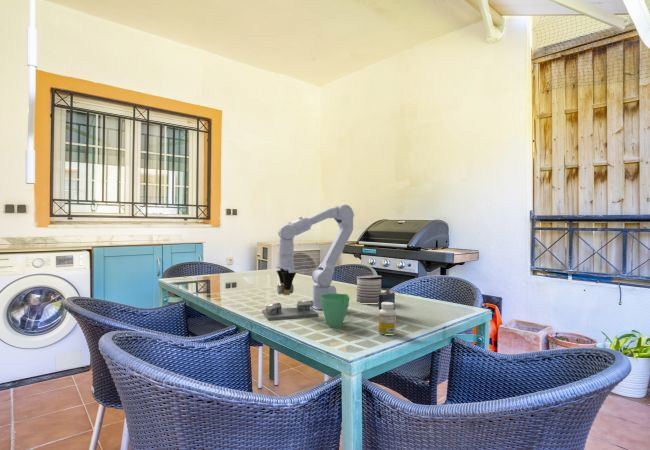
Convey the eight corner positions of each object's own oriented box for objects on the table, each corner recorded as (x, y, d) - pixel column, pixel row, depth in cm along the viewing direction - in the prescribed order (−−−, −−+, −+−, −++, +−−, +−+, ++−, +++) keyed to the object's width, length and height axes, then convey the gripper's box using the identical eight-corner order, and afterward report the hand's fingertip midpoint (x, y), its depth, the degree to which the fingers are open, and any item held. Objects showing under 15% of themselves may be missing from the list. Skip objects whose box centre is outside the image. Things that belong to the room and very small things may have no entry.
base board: (308, 309, 146) (308, 306, 146) (318, 316, 135) (318, 313, 135) (262, 312, 139) (262, 309, 139) (268, 320, 128) (268, 317, 128)
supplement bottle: (383, 330, 118) (383, 300, 118) (398, 333, 115) (398, 302, 115) (375, 333, 114) (376, 303, 114) (391, 337, 111) (391, 305, 111)
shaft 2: (310, 308, 143) (311, 299, 143) (313, 310, 140) (313, 301, 140) (296, 309, 141) (296, 300, 141) (299, 311, 138) (299, 302, 138)
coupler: (290, 292, 148) (290, 282, 148) (293, 294, 144) (293, 283, 144) (277, 293, 146) (277, 282, 146) (280, 295, 142) (280, 284, 142)
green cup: (341, 331, 116) (342, 300, 116) (315, 326, 121) (315, 297, 121) (358, 320, 129) (358, 293, 129) (333, 317, 134) (334, 290, 134)
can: (366, 305, 154) (366, 277, 154) (350, 300, 163) (351, 274, 163) (386, 303, 159) (387, 276, 159) (370, 298, 169) (371, 273, 169)
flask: (390, 313, 141) (390, 286, 141) (396, 315, 139) (397, 287, 139) (377, 318, 134) (377, 289, 134) (383, 319, 132) (384, 290, 132)
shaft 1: (275, 310, 138) (275, 302, 138) (282, 312, 136) (282, 303, 136) (264, 313, 133) (264, 304, 133) (271, 315, 131) (271, 306, 131)
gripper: (271, 253, 150) (271, 286, 150) (282, 256, 137) (281, 292, 137) (288, 253, 153) (287, 285, 153) (299, 256, 139) (299, 291, 139)
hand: (285, 288), depth 145 cm, fingers closed on coupler, 4 cm apart
